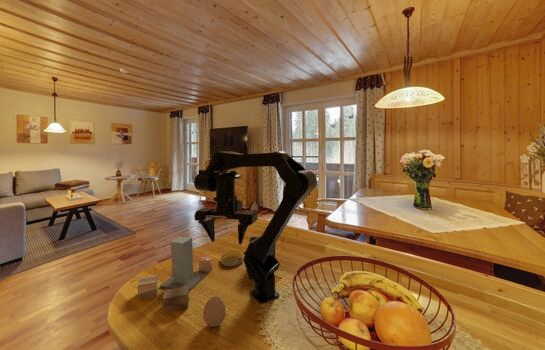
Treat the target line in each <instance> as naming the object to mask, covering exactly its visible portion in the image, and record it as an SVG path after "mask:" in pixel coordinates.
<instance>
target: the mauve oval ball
mask: <svg viewBox="0 0 545 350" xmlns="http://www.w3.org/2000/svg"><path fill="white" fill-rule="evenodd" d="M226 310H227V309H226V305H225V303H224V301H223V300H222V298H221V297H219V296H212V297H210V298H209V299H208V300H207V301H206V302H205V305H204V307H203V312H202V314H203V320H204V322H205V323H206V325H207V326H208V327H211V328H215V327H219V326H220V325H221V324H222V323H223V322H224V320H225V317H226V312H227V311H226Z"/></svg>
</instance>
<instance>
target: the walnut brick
mask: <svg viewBox="0 0 545 350" xmlns="http://www.w3.org/2000/svg"><path fill="white" fill-rule="evenodd" d="M189 293H190V291H189V287H188V286H187V287H181V288H174V289H165V290H164V293H163V295H162V312H163V314H165V313H171V312H175V311H176V312H177V311H181V310H186V309H187V310H188V309H189V302H190V294H189Z"/></svg>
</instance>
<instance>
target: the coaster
mask: <svg viewBox="0 0 545 350" xmlns="http://www.w3.org/2000/svg"><path fill="white" fill-rule="evenodd" d="M206 276H207V273H200V272H199V271H194V277H193V278H191V279H190V280H189V281H188V282H187V283H186V284H182V283H176V282H173V278H172V276H170V277H169V278H168V279H166V280H165V281H164V282H162V283H161V284H160V285H159V289H160V288H161V289H165V290H168V289H174V288H181V287H187V286H188V287H189V292H190V291H192V290H193V288H195V287H196V286H197V285H198V284H199V283H200V282H201V281H202V280H203V279H204V278H206Z"/></svg>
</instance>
